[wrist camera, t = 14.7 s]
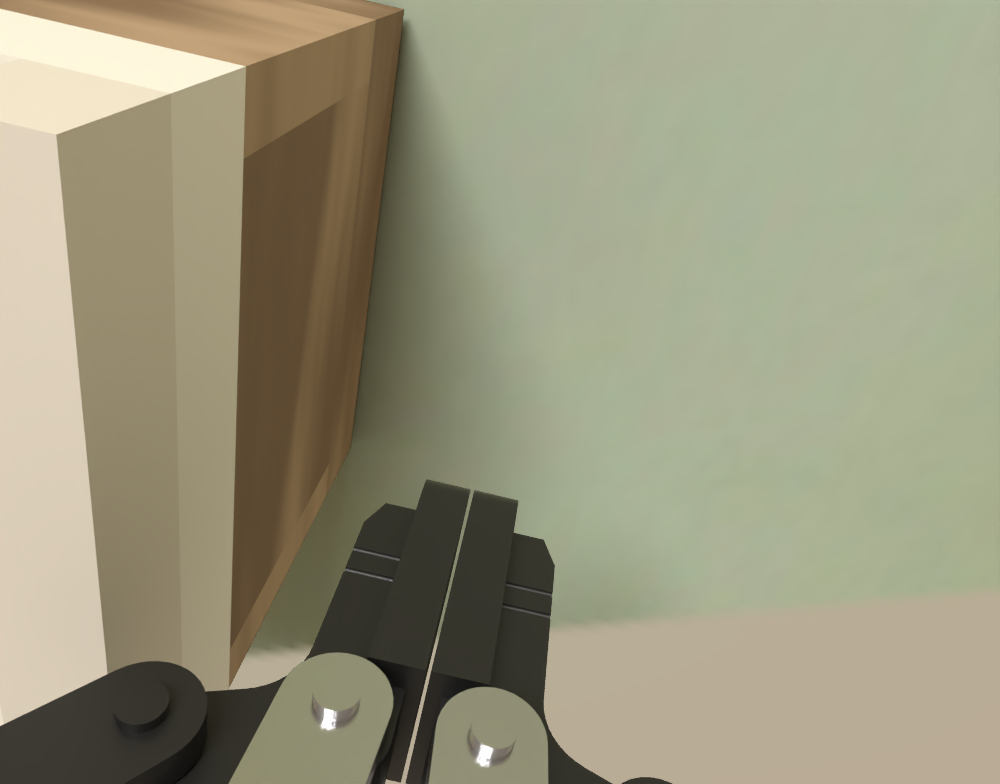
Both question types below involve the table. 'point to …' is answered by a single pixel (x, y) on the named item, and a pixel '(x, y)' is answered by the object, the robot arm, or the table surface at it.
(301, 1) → the box
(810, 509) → the table surface
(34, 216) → the lid
